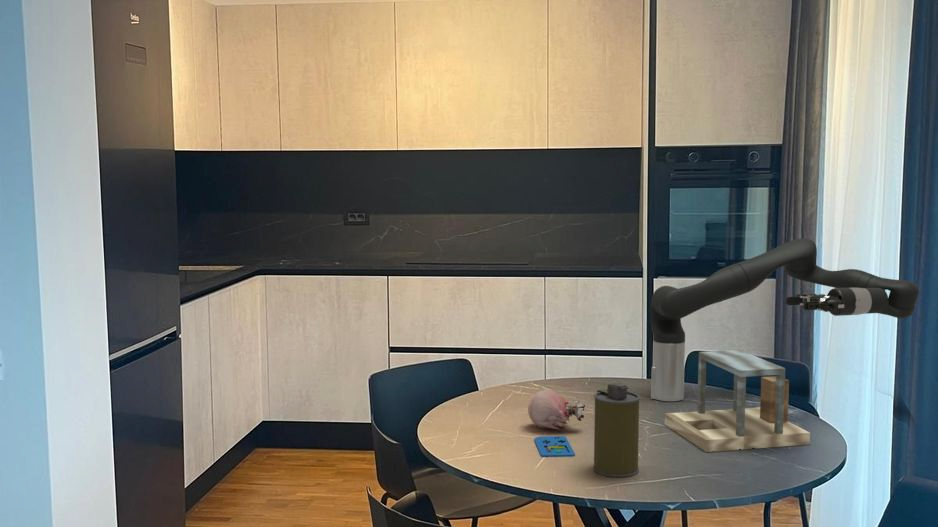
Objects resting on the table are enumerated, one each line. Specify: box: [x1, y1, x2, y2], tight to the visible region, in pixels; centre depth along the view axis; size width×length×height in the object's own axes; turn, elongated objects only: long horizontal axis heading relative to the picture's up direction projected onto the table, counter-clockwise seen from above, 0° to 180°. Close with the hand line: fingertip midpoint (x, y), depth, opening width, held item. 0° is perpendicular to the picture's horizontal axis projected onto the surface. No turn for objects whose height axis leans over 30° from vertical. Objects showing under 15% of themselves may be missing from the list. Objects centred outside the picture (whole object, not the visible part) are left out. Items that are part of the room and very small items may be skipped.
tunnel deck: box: [664, 349, 811, 453], centre depth 237 cm, size 28×24×20 cm
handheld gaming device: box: [533, 435, 576, 458], centre depth 228 cm, size 8×1×15 cm
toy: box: [527, 389, 586, 432], centre depth 244 cm, size 12×11×15 cm
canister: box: [592, 382, 641, 478], centre depth 210 cm, size 11×10×20 cm
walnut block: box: [759, 375, 790, 423], centre depth 240 cm, size 5×5×11 cm
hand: (795, 303), depth 248 cm, fingers open, 8 cm apart
